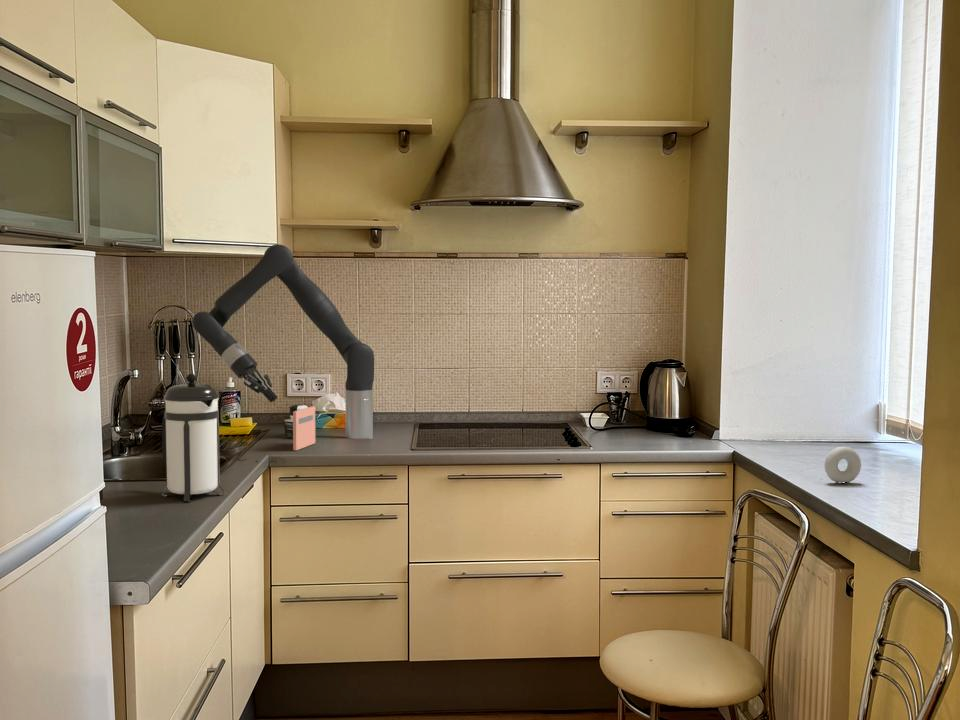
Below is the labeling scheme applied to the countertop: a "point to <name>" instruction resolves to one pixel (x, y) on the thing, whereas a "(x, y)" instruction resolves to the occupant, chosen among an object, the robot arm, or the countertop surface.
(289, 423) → the medicine bottle
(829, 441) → the countertop surface
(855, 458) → the donut
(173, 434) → the coffee press
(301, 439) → the book
